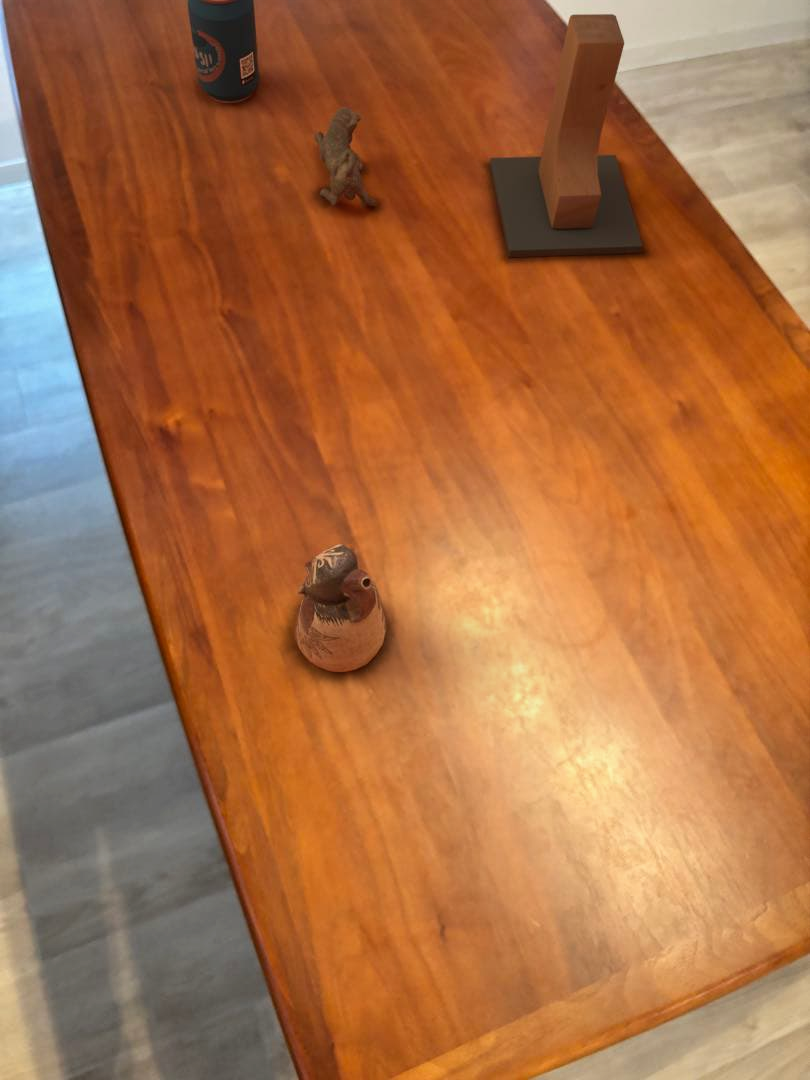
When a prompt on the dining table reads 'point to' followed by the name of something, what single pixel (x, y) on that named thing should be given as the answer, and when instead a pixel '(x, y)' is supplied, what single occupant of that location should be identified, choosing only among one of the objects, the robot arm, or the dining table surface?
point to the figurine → (339, 612)
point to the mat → (531, 221)
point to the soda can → (225, 48)
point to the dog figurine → (342, 159)
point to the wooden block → (579, 119)
